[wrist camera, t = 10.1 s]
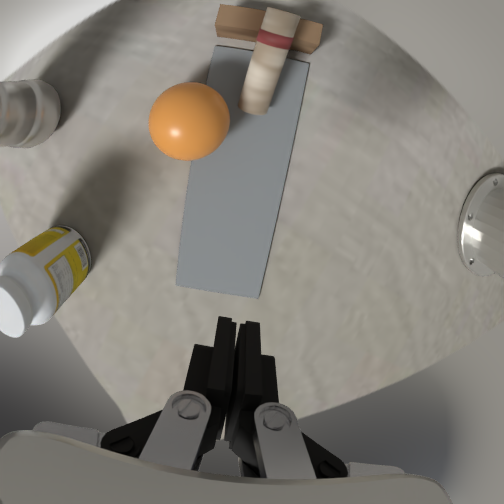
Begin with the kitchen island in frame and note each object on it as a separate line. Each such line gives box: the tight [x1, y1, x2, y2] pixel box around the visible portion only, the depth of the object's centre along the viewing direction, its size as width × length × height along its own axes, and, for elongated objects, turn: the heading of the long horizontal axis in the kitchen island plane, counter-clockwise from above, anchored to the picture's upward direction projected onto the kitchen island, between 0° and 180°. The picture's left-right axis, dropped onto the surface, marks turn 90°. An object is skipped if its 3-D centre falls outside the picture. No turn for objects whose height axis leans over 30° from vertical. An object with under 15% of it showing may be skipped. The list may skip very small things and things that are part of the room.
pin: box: [238, 7, 301, 115], centre depth 19 cm, size 2×2×8 cm
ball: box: [149, 82, 230, 161], centre depth 21 cm, size 6×6×6 cm
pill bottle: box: [0, 226, 91, 337], centre depth 22 cm, size 6×6×12 cm
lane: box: [176, 46, 309, 299], centre depth 25 cm, size 8×22×1 cm, turn 169°
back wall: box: [215, 4, 323, 54], centre depth 19 cm, size 8×2×3 cm, turn 79°
